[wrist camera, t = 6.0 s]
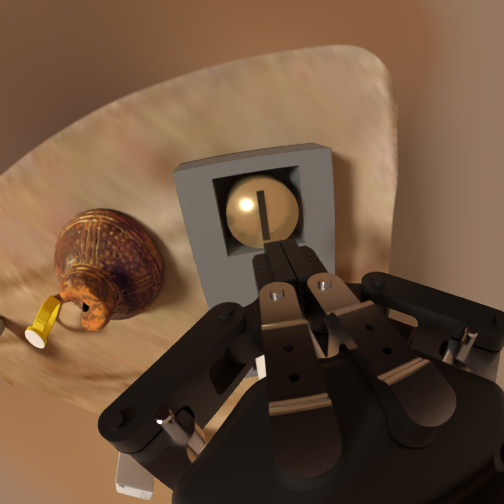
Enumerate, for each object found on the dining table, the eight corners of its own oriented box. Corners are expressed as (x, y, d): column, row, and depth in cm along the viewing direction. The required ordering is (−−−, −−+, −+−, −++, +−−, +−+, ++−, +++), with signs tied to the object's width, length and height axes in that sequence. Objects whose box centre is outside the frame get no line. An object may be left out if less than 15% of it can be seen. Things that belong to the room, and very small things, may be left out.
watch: (60, 324, 27) (42, 358, 22) (43, 312, 26) (23, 345, 21) (68, 296, 25) (46, 334, 20) (50, 283, 24) (25, 319, 19)
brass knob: (288, 222, 23) (301, 242, 20) (231, 232, 23) (233, 255, 20) (282, 165, 21) (295, 175, 17) (220, 175, 21) (220, 187, 17)
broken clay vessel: (170, 311, 28) (161, 363, 21) (74, 307, 26) (50, 350, 20) (159, 204, 22) (137, 238, 16) (49, 210, 21) (6, 242, 14)
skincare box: (155, 433, 40) (151, 500, 27) (125, 425, 39) (116, 493, 26) (160, 415, 37) (155, 494, 24) (125, 406, 36) (114, 485, 22)
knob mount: (320, 335, 31) (330, 359, 28) (230, 353, 31) (232, 379, 27) (313, 142, 21) (331, 147, 18) (180, 163, 21) (172, 172, 17)
